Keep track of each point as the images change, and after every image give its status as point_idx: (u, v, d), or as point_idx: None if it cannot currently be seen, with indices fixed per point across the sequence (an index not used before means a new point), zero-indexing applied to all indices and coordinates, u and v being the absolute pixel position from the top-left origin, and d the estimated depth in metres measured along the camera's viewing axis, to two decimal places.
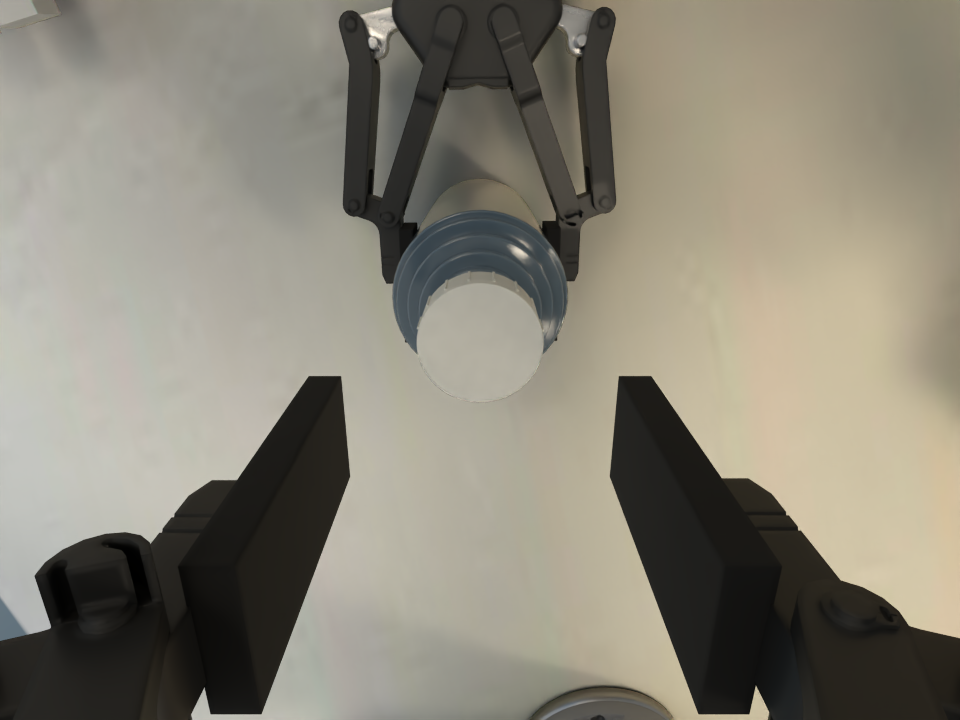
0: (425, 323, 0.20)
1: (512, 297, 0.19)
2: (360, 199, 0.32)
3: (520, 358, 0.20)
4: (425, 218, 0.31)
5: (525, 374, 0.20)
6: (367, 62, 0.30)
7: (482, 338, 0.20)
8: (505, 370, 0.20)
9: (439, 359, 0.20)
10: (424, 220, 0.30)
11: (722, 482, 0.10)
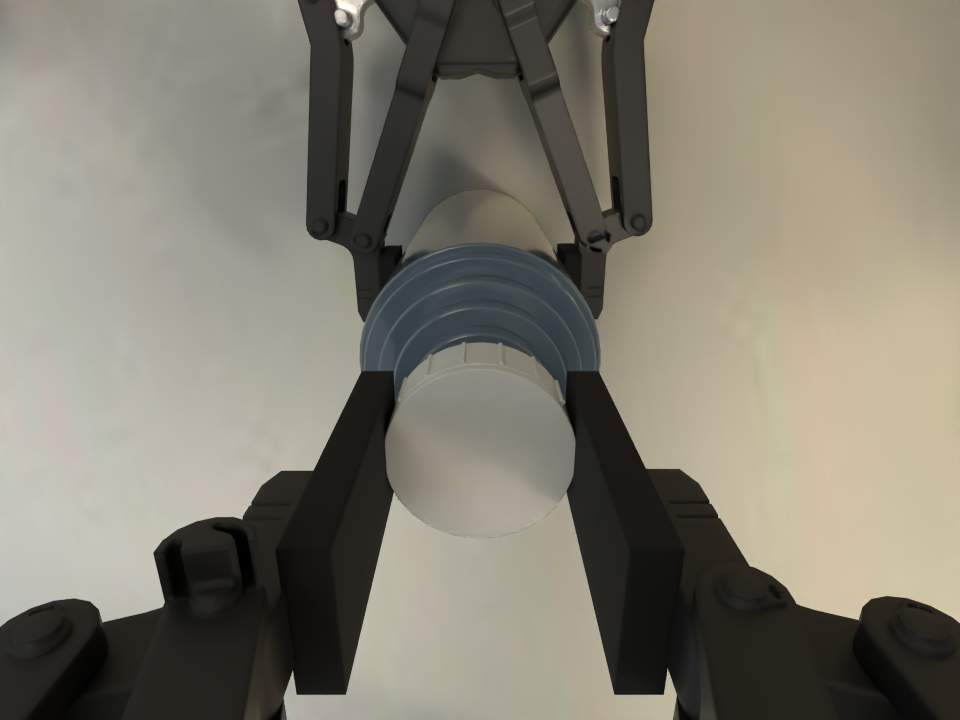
0: (396, 427, 0.13)
1: (530, 390, 0.13)
2: (328, 218, 0.26)
3: (541, 477, 0.13)
4: (410, 244, 0.24)
5: (548, 499, 0.13)
6: (334, 43, 0.23)
7: (483, 449, 0.13)
8: (518, 494, 0.13)
9: (418, 478, 0.13)
10: (408, 247, 0.23)
11: (645, 471, 0.10)
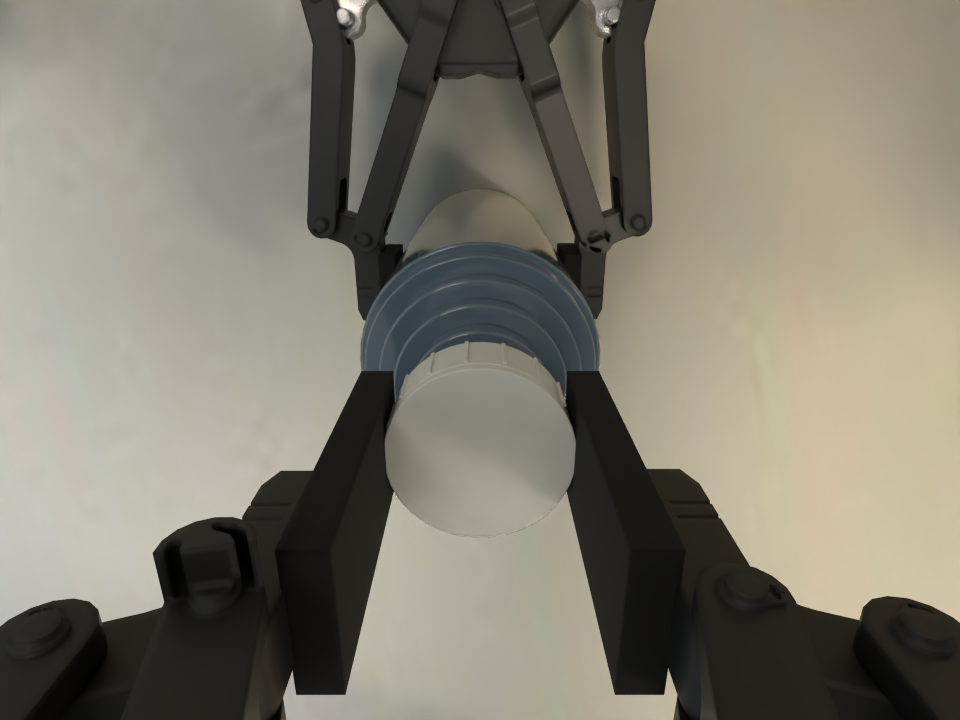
0: (476, 532, 0.14)
1: (392, 441, 0.13)
2: (329, 217, 0.26)
3: (478, 398, 0.13)
4: (410, 242, 0.24)
5: (501, 382, 0.12)
6: (336, 42, 0.23)
7: (468, 458, 0.13)
8: (506, 411, 0.13)
9: (522, 501, 0.13)
10: (408, 246, 0.23)
11: (645, 471, 0.10)
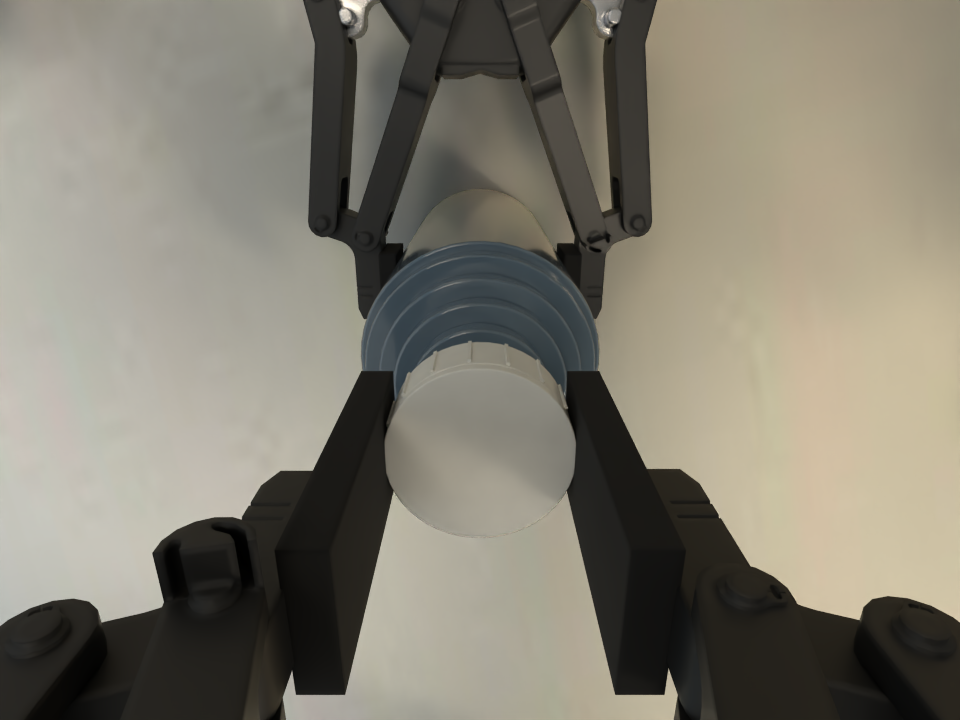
0: (566, 433, 0.13)
1: (492, 530, 0.14)
2: (330, 215, 0.26)
3: (420, 479, 0.13)
4: (411, 241, 0.24)
5: (396, 467, 0.13)
6: (338, 41, 0.23)
7: (484, 467, 0.13)
8: (423, 453, 0.13)
9: (513, 405, 0.13)
10: (409, 245, 0.24)
11: (646, 471, 0.10)
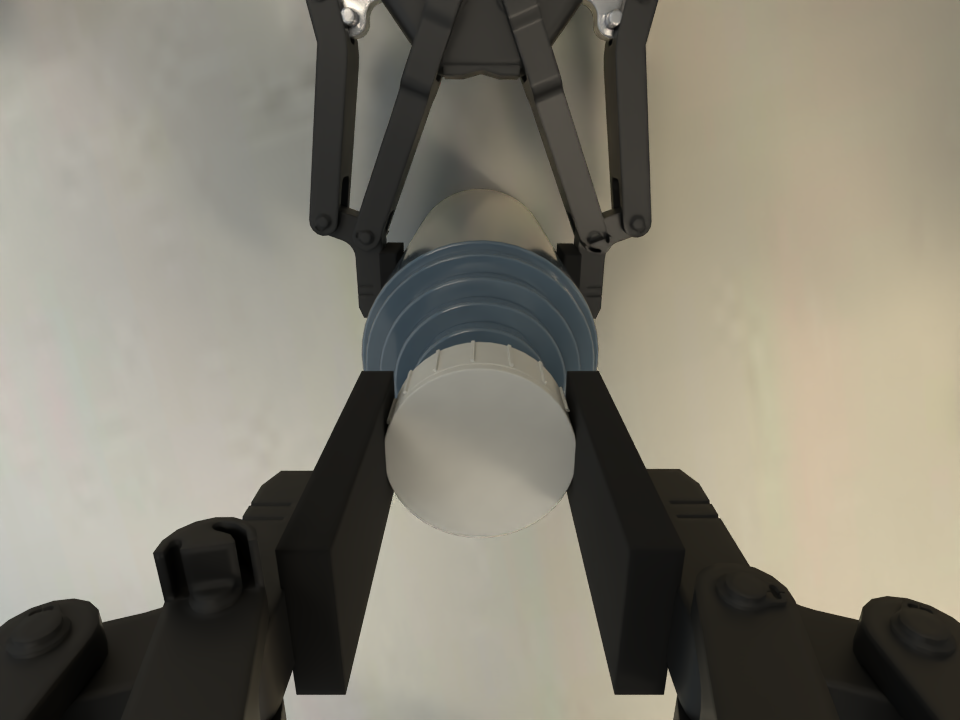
0: (421, 395, 0.13)
1: (559, 419, 0.13)
2: (331, 214, 0.26)
3: (523, 499, 0.13)
4: (412, 241, 0.25)
5: (517, 521, 0.14)
6: (340, 41, 0.23)
7: (488, 451, 0.13)
8: (494, 505, 0.14)
9: (413, 450, 0.13)
10: (410, 244, 0.24)
11: (645, 471, 0.10)
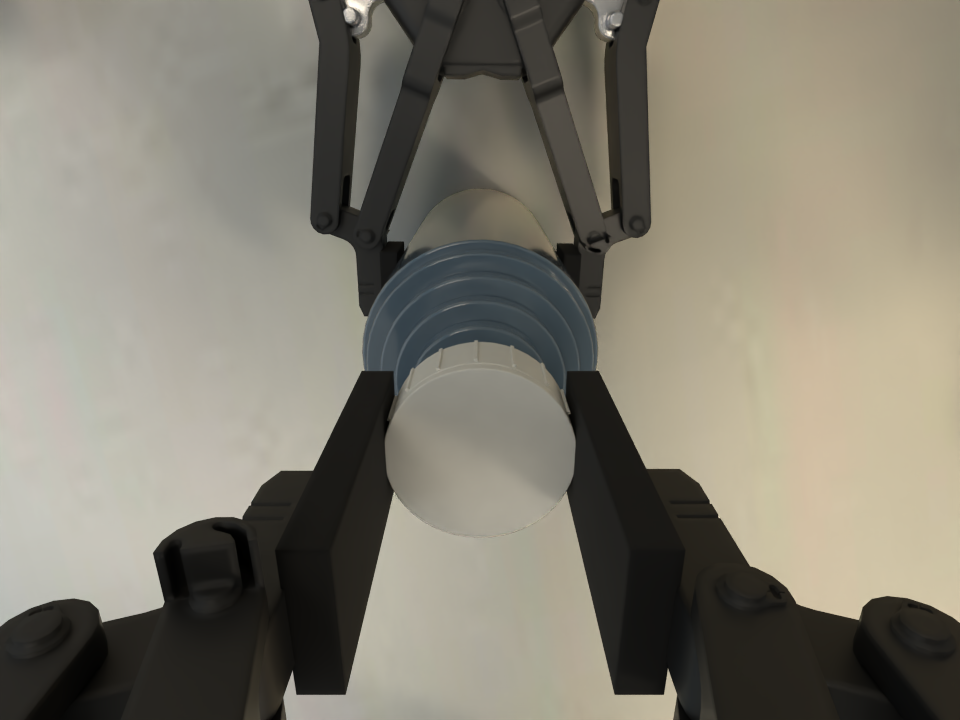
0: (436, 522, 0.14)
1: (409, 406, 0.13)
2: (332, 213, 0.26)
3: (510, 405, 0.13)
4: (412, 240, 0.25)
5: (539, 400, 0.13)
6: (342, 40, 0.24)
7: (469, 454, 0.13)
8: (527, 428, 0.13)
9: (494, 513, 0.14)
10: (410, 243, 0.24)
11: (645, 471, 0.10)
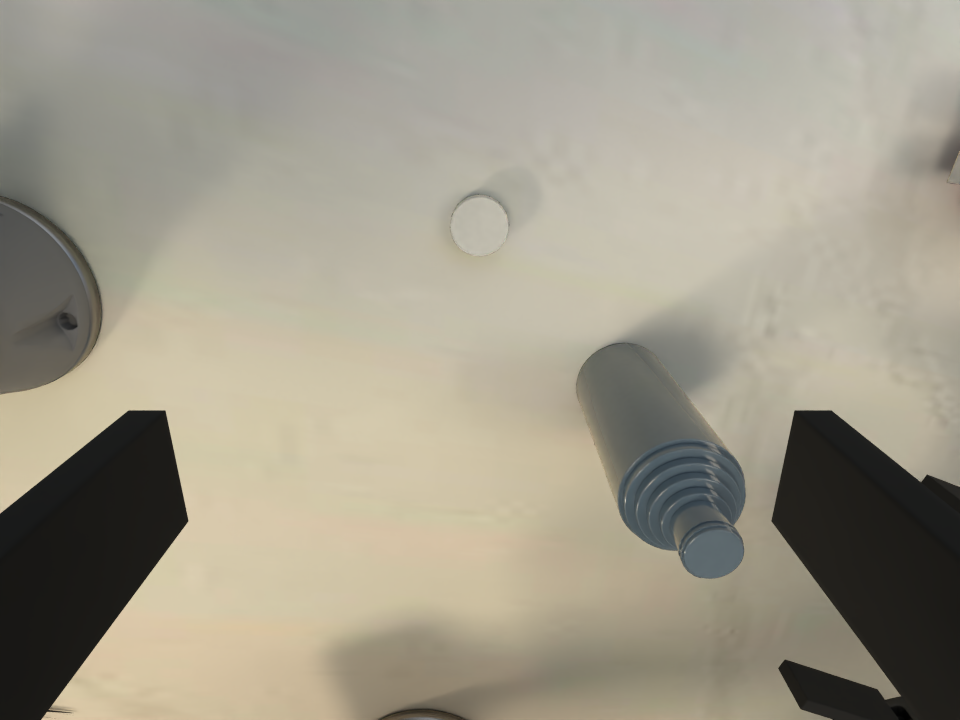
0: (466, 250, 0.44)
1: (458, 209, 0.43)
2: None
3: (488, 209, 0.43)
4: None
5: (496, 207, 0.43)
6: None
7: (476, 225, 0.44)
8: (493, 217, 0.43)
9: (483, 246, 0.44)
10: None
11: None
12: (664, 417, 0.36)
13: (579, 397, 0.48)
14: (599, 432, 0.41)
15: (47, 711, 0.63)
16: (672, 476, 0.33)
